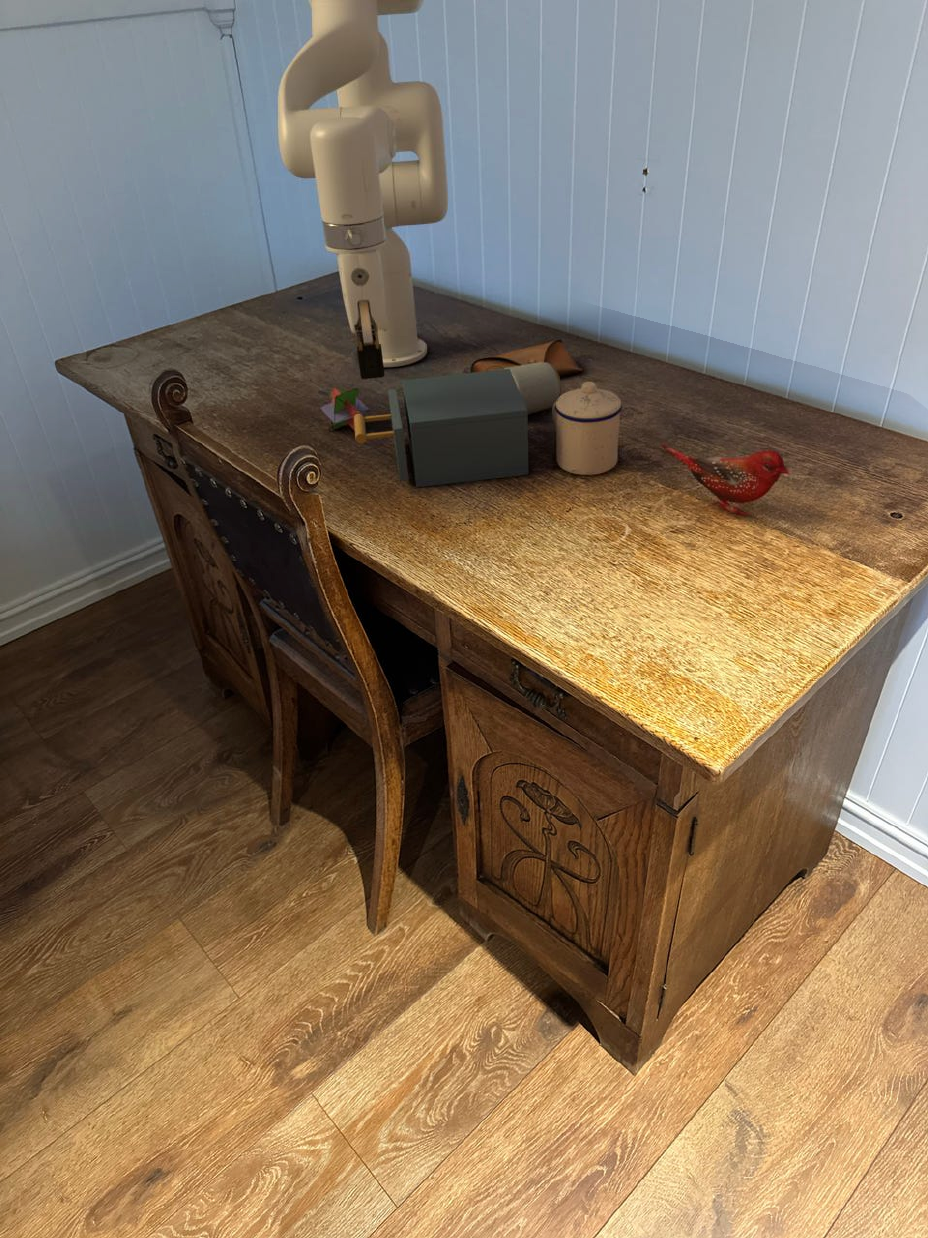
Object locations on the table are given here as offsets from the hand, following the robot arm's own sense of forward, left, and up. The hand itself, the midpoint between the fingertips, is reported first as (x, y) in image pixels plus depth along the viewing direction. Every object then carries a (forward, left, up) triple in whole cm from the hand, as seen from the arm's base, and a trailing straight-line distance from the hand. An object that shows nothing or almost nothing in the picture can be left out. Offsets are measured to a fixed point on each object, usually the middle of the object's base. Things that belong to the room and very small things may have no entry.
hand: (372, 375), depth 122 cm
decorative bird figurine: (+21, +42, -14) cm, 49 cm away
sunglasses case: (-26, +26, -14) cm, 40 cm away
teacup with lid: (+4, +28, -14) cm, 32 cm away
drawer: (0, +7, -13) cm, 15 cm away
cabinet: (0, +12, -14) cm, 18 cm away
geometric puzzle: (-14, -5, -14) cm, 21 cm away
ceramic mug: (-14, +23, -14) cm, 31 cm away
